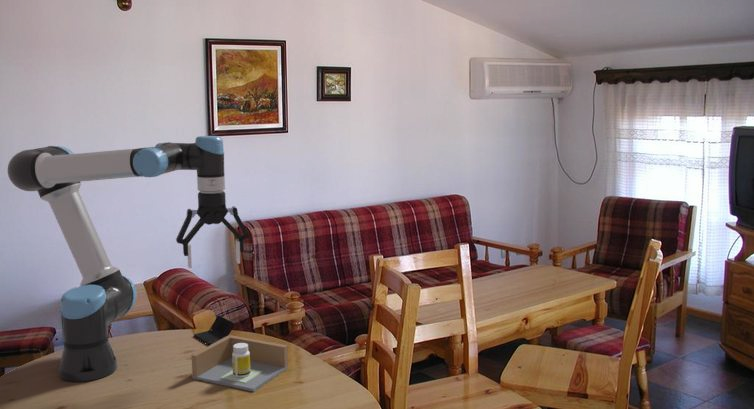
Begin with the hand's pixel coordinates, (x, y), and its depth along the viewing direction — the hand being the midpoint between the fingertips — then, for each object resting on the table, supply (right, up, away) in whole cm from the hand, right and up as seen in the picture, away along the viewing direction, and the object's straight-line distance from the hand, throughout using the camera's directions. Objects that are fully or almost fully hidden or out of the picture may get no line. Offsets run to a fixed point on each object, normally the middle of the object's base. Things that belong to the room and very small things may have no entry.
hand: (214, 264), depth 200 cm
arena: (+9, -30, -5) cm, 31 cm away
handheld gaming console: (-5, -26, +23) cm, 35 cm away
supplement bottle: (+9, -30, -8) cm, 32 cm away
